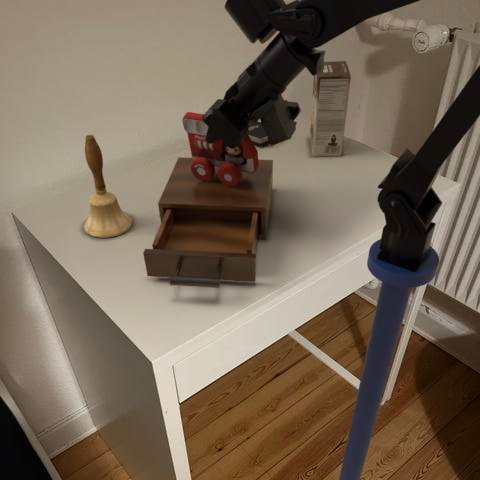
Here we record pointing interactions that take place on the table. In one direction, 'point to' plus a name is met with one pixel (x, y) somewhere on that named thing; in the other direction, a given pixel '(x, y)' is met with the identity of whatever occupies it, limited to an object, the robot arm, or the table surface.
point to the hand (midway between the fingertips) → (210, 138)
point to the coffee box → (329, 109)
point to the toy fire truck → (218, 154)
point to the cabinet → (220, 192)
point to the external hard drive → (257, 133)
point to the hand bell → (103, 199)
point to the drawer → (204, 247)
